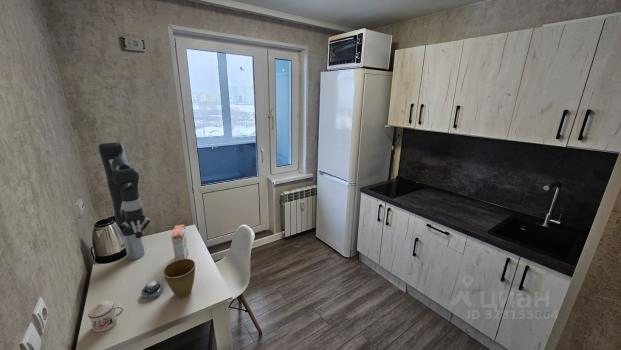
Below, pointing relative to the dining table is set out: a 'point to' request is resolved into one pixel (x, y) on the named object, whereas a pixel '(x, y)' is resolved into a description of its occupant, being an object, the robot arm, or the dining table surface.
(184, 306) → the dining table surface
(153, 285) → the cap
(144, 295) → the faceted grey ring
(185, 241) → the cracker box
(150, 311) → the dining table surface
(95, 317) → the teacup with lid
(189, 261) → the plant pot
